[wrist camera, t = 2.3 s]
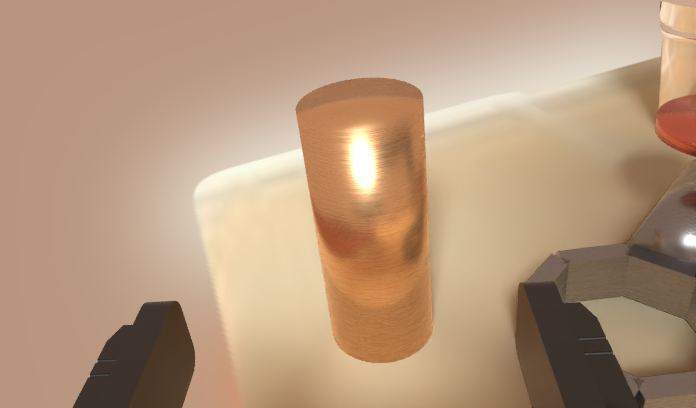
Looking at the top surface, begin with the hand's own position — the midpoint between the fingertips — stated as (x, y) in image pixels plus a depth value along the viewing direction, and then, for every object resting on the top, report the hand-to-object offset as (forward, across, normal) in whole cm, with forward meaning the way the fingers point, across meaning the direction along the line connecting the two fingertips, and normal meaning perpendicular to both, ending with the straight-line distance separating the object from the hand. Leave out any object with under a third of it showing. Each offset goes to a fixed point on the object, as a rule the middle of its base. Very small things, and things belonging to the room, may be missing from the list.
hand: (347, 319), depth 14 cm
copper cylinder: (+12, 0, +11) cm, 16 cm away
